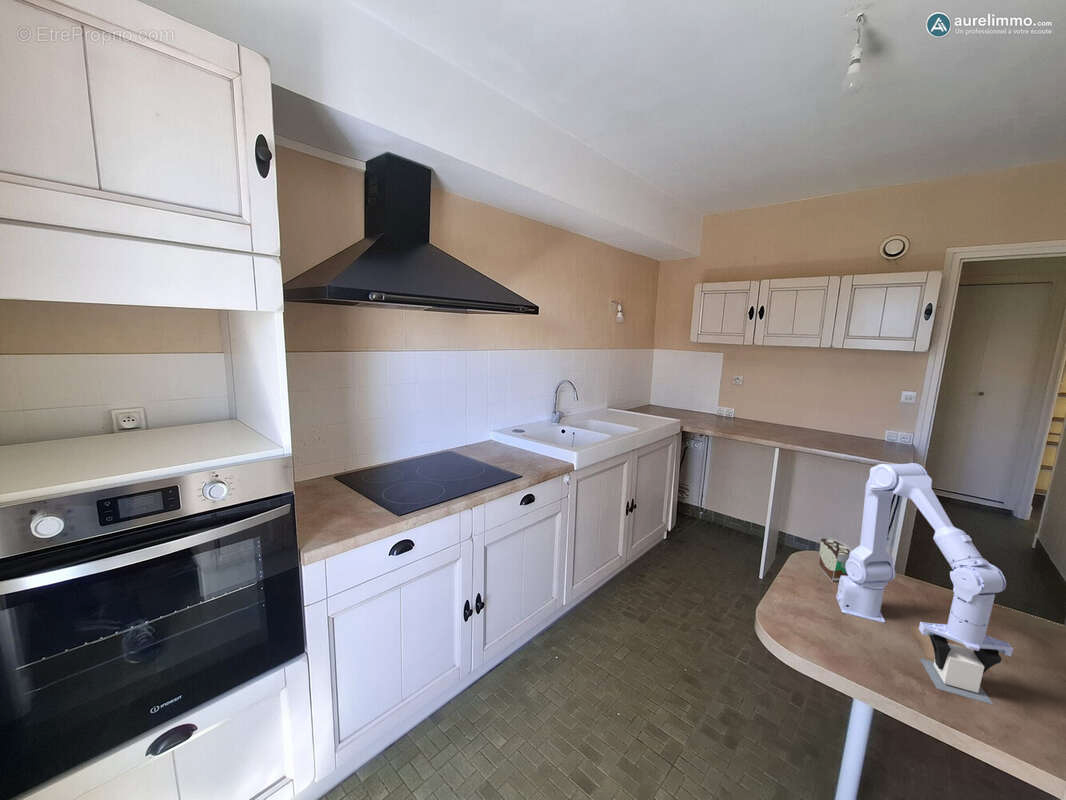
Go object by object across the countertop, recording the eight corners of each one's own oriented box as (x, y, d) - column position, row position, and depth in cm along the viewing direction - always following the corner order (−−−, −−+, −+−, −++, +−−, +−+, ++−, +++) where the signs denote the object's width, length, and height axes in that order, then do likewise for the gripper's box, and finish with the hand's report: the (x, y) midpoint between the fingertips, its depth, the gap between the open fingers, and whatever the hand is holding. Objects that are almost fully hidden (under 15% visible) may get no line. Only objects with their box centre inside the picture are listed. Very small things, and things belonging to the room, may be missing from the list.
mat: (936, 689, 91) (937, 688, 91) (920, 659, 99) (920, 658, 99) (992, 705, 87) (993, 704, 87) (970, 673, 95) (971, 672, 95)
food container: (857, 588, 126) (862, 557, 124) (834, 585, 127) (839, 555, 125) (836, 565, 138) (841, 537, 136) (816, 562, 139) (820, 535, 137)
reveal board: (925, 657, 100) (925, 656, 100) (906, 625, 110) (906, 624, 110) (993, 675, 95) (994, 674, 95) (967, 639, 105) (967, 638, 105)
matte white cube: (944, 683, 92) (950, 658, 90) (933, 665, 96) (938, 640, 95) (978, 692, 89) (984, 666, 88) (965, 673, 94) (971, 648, 93)
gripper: (933, 618, 89) (921, 672, 92) (1027, 640, 83) (1012, 697, 86) (919, 598, 96) (909, 650, 98) (1006, 617, 90) (993, 672, 92)
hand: (956, 670), depth 93 cm, fingers closed on matte white cube, 5 cm apart
